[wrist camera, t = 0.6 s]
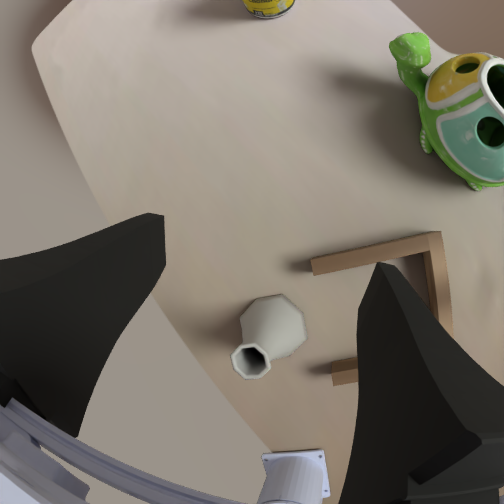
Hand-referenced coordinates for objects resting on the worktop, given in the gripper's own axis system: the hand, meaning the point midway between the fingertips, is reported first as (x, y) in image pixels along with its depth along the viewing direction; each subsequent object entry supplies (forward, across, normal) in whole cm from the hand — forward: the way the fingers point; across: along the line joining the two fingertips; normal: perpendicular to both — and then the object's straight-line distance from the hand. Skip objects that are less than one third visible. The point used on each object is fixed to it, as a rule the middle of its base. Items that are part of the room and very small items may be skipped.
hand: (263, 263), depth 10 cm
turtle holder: (+26, -16, -5) cm, 31 cm away
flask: (+16, -1, +19) cm, 25 cm away
